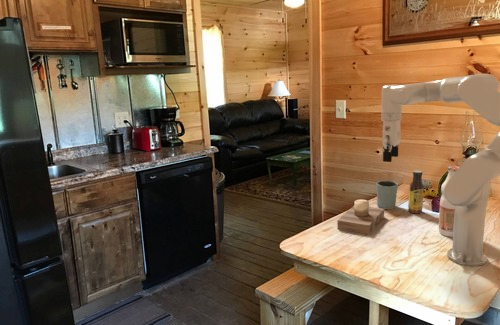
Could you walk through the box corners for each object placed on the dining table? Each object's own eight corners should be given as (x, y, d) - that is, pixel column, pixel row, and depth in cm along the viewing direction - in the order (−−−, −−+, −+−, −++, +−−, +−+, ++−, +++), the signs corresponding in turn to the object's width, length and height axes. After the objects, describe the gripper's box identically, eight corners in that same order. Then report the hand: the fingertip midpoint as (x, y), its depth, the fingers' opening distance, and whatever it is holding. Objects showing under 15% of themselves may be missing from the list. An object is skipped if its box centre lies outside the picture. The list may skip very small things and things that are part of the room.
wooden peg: (366, 225, 176) (366, 204, 174) (352, 222, 180) (352, 202, 177) (370, 220, 181) (370, 200, 179) (357, 218, 185) (357, 198, 182)
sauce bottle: (413, 214, 186) (415, 173, 181) (405, 210, 192) (406, 170, 187) (425, 212, 187) (427, 172, 183) (416, 208, 193) (418, 169, 189)
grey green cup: (379, 201, 206) (379, 179, 203) (399, 204, 200) (400, 181, 197) (373, 207, 198) (373, 184, 195) (394, 211, 192) (394, 187, 189)
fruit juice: (433, 230, 167) (436, 166, 161) (451, 227, 170) (455, 163, 164) (450, 239, 159) (454, 171, 152) (469, 235, 161) (474, 168, 155)
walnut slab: (368, 234, 168) (369, 225, 167) (337, 228, 176) (337, 220, 175) (384, 217, 185) (384, 208, 184) (354, 212, 193) (354, 204, 192)
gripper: (395, 119, 148) (394, 164, 152) (406, 114, 162) (405, 155, 165) (375, 119, 152) (374, 163, 156) (387, 113, 166) (387, 154, 170)
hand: (390, 158), depth 161 cm, fingers open, 9 cm apart
